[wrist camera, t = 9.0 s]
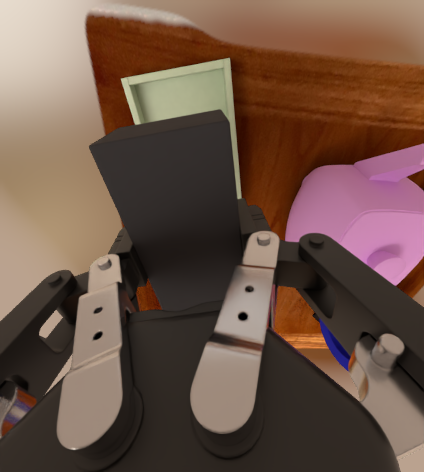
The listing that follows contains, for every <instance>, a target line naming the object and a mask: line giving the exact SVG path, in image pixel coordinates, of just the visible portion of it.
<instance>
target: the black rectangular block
mask: <svg viewBox="0 0 424 472" xmlns="http://www.w3.org/2000/svg"><path fill="white" fill-rule="evenodd" d="M89 149H90V151H91V153H92V155H93V157H94V160H95V162H96V164H97V166H98V169H99V171H100V173H101V175H102V177H103V180H104V182H105V184H106V186H107V188H108V191H109V193H110V195H111V197H112V199H113V202H114V204H115V206H116V208H117V210H118V213H119V215H120V217H121V219H122V221H123V224H124V226H125V228H126V230H127V232H128V235H129V237H130V239H131V241H132V244H133V245H134V247H135V250H136V252H137V254H138V256H139V258H140V261H141V263H142V265H143V267H144V269H145V272H146V274H147V276H148V279H149V281H150V283H151V285H152V288H153V290H154V292H155V294H156V296H157V299H158V301H159V303H160V305H161V307H162V310H166V311H182V310H185V309H187V308H190V307H193V306H196V305H198V304H201V303H205V302H212V301H219V300H224V299H225V296H226V293H227V290H228V287H229V284H230V281H231V278H232V275H233V272H234V269H235V266H236V264H241V262H242V258H243V255H242V245H241V235H240V218H239V208H238V199H237V189H236V179H235V169H234V160H233V150H232V140H231V130H230V122H229V120H228V119H227V117H226V116H225V114H224V113H223V111H222V110H221V109H218V110H213V111H207V112H202V113H196V114H191V115H186V116H180V117H175V118H170V119H164V120H159V121H153V122H148V123H143V124H137V125H132V126H126V127H121V128H118V129H116V130H114V131H113V132H111V133H109V134H108V135H106V136H104V137H103V138H101V139H99V140H98V141H96V142H94V143H93V144H91V145H90V146H89Z"/></svg>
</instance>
